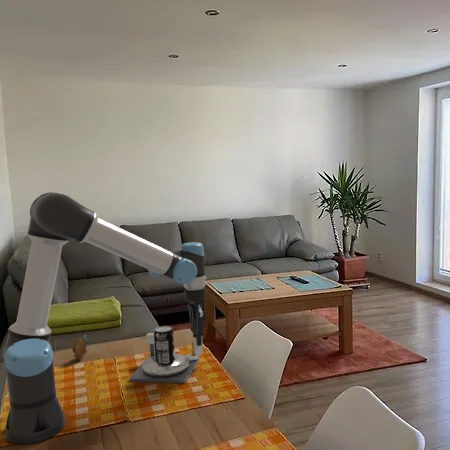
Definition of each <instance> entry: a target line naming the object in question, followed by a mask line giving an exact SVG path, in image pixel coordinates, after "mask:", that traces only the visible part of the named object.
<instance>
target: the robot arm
mask: <svg viewBox="0 0 450 450" xmlns="http://www.w3.org/2000/svg"><path fill="white" fill-rule="evenodd" d="M29 216H30V221H29V226H28V231H27V236H28V238H29V239H30V241H31V245H30V249H29V255H28V258H27V265H26V269H25V275H24V281H23V286H22V290H21V296H20V301H19V307H18V311H17V312H18V313H17V317H16V321H15V322H14V323H13V324H11V325H10V326H9V328H8V334H7V338H6V341H5V342H4V345H3V348H2V358H3V362H4V367H5V372H6V380H7V381H6V382H7V389H8V391H7V392H8V400H9V409H8V415H7V418H6V423H5V427H4V429H5V430H4V432H5V437H6V438H5V439H6V440H7V441H8V442H10V443H12V444H16V445H29V444H35V443H39V442H42V441H45V440H48V439H50V438H52V437H53V436H56V435H58V434H59V433H60V432H61V431H63V429H64V427H65V425H66V414H65V412H64V410H63V408H62V406H61V403H60V401H59V400H58V397H57V391H56V389H57V388H56V381H55V380H56V379H55V368H54V353H53V352H54V351H53V350H52V349H53V348H52V346H51V344H50V340H51V335H52V329H51V328H50V327H49V326H48V322H49V318H50V312H51V307H52V301H53V297H54V291H55V286H56V281H57V276H58V270H59V267H60V262H61V261H60V259H61V255H62V251H63V246H65V245H66V244H67V243H68V242H69V241H70V240H72V241H73V242H76V243H78V244H83V243H85V242H86V243H88V244H90V245H92V246H95V247H96V248H99V249H101V250H104V251H106V252H108V253H111V254H112V255H115V256H118V257H120V258H121V259H124V260H126V261H129V262H132V263H134V264H135V265H138V266H141V267H142V268H145V269H147V271H148V274H149V275H150V276H151V277H153V278H154V277H155V278H156V277H166V278H167V279H169V280H172V281H174V282H175V283H178V284H181V285H183V288H184V289H183V293H184V299H185V301H188V302H189V303H187V307H188V315H189V322H190V331H191V332H192V337H193V339H192V340H194V354H195V355H198V354H199V355H202V354H204V346H203V345H204V343H203V337H204V336H205V316H206V311H205V310H204V305H203V303H202V301H204V300H205V299H207V287H206V284H207V283H206V280H207V276H206V268H205V267H206V266H205V249H204V245H203V244H202V242H196V241H191V242H186V243H183V244H182V245H181V248H180V249H181V250H175V251H170V250H168V249H166V248H164V247H162V246H159V245H157V244H155V243H153V242H151V241H149V240H146V239H144V238H142V237H140V236H138V235H136V234H134V233H132V232H130V231H128V230H125V229H123V228H121V227H120V226H117V225H115V224H113V223H110V222H109V221H107V220H104V219H103V218H100V217H98V215H97V213H96V212H95V211H93V210H91V209H89V208H87V206H84V205H83V204H81V203H79V202H78V201H77V200H75V199H73V198H72V197H71V196H69V195H66V194H64V193H57V192H52V191H50V192H45V193H42V194H40V195H39V196H38V197H35V199H34V200H33V202H32V203H31V205H30V209H29Z"/></svg>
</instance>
